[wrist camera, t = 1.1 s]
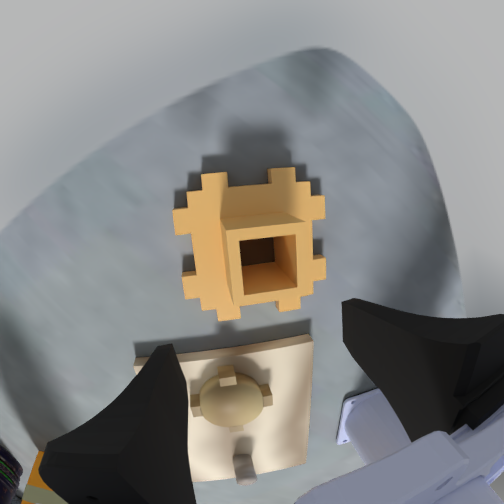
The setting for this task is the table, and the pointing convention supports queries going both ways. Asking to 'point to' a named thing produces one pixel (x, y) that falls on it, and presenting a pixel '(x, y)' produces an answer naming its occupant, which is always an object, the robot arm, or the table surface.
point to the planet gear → (245, 228)
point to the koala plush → (16, 500)
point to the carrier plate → (272, 422)
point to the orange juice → (39, 488)
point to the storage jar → (8, 476)
